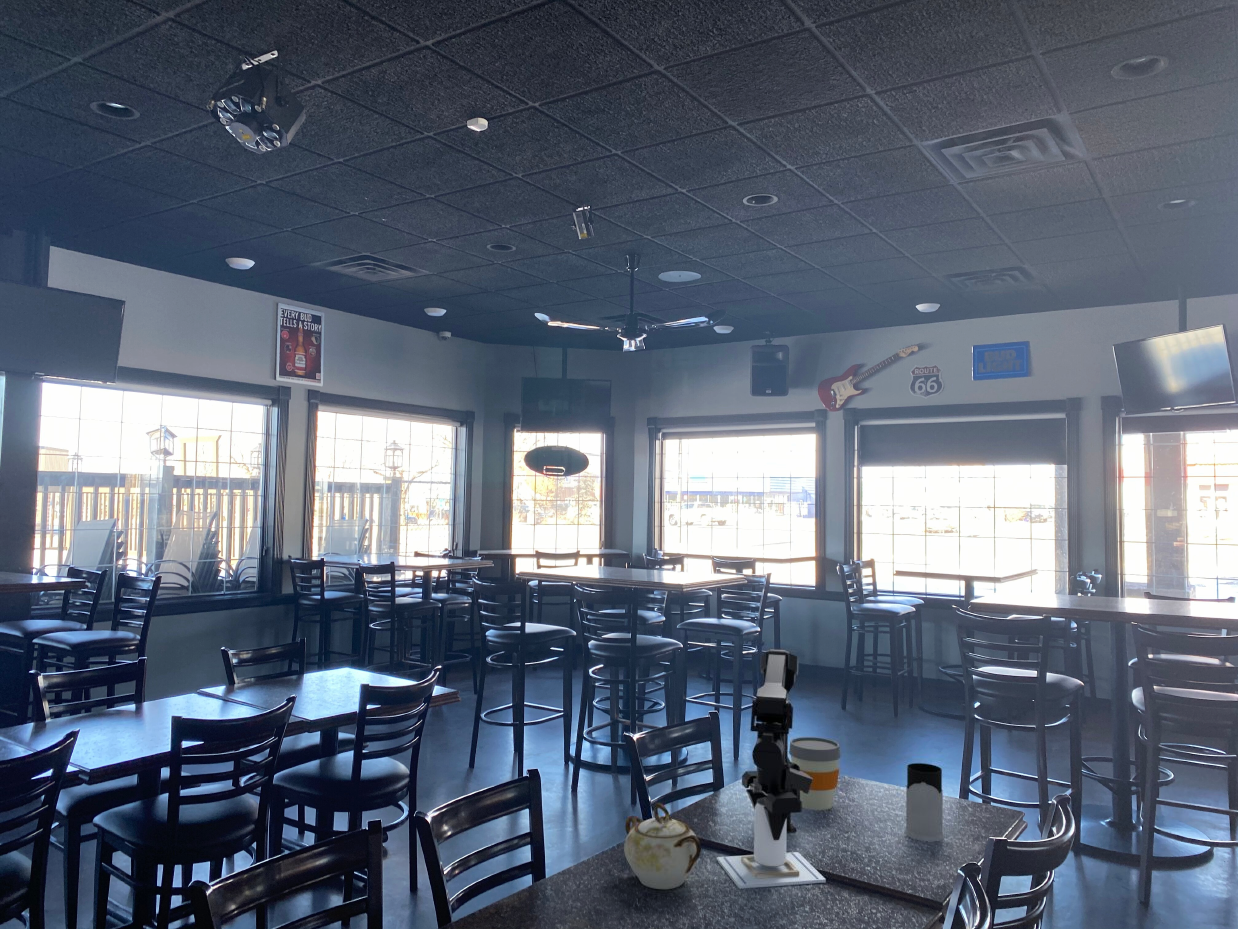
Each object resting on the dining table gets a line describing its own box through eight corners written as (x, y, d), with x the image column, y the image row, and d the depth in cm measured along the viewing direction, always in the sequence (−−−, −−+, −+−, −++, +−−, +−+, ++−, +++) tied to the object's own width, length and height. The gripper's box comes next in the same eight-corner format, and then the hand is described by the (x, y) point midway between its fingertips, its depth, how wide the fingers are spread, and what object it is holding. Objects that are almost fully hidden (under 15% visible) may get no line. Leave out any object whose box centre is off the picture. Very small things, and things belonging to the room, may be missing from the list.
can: (785, 869, 179) (786, 808, 180) (753, 866, 180) (753, 805, 181) (786, 856, 185) (786, 797, 186) (754, 853, 187) (755, 795, 187)
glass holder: (902, 838, 202) (902, 770, 203) (907, 818, 215) (907, 754, 216) (943, 844, 199) (943, 775, 200) (946, 823, 212) (946, 759, 213)
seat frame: (741, 860, 186) (741, 856, 186) (782, 858, 188) (782, 854, 188) (756, 878, 177) (756, 874, 177) (799, 875, 179) (799, 871, 179)
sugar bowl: (599, 876, 179) (600, 799, 179) (650, 856, 189) (651, 784, 190) (673, 909, 165) (674, 826, 166) (724, 885, 175) (725, 807, 176)
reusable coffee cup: (834, 816, 216) (834, 752, 216) (782, 807, 221) (783, 746, 222) (844, 800, 227) (845, 740, 228) (795, 793, 233) (796, 734, 233)
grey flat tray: (716, 860, 188) (716, 856, 188) (797, 855, 191) (797, 851, 191) (738, 888, 174) (739, 885, 174) (825, 882, 178) (825, 878, 178)
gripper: (827, 768, 176) (826, 849, 176) (790, 742, 194) (789, 815, 194) (773, 770, 174) (772, 852, 173) (741, 744, 192) (740, 818, 192)
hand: (770, 833), depth 183 cm, fingers closed on can, 6 cm apart
